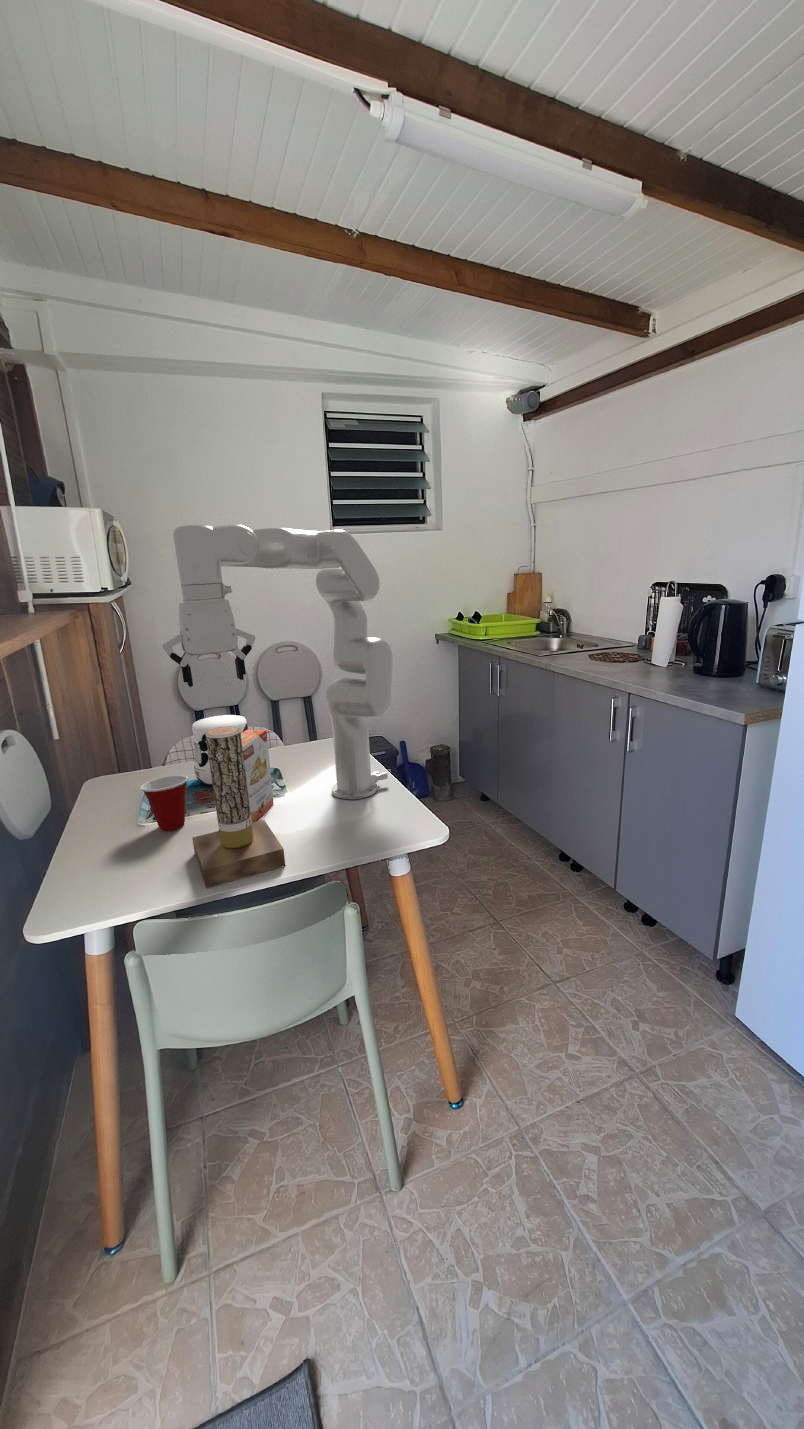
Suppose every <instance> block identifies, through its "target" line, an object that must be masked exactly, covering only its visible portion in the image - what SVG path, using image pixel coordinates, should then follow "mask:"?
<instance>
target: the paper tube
mask: <svg viewBox="0 0 804 1429" xmlns="http://www.w3.org/2000/svg"><path fill="white" fill-rule="evenodd" d="M206 742H207V749H208V756H209V763H210V770H211V777H212V784H213V786H212V789H213V790H212V791H213V796H214V805H215V812H216V819H217V825H218V827H217V828H218V831H219V833H220V840H221V844H222V845H223V846H224V847H226V848H231V849H233V848H240V847H244V846H246V845H248V844H249V843H251V841H252V840H253V829H252V820H251V812H250V804H249V796H248V787H247V779H246V771H245V763H244V755H243V747H242V739H241V731H240V728H239V727H236V726H222V727H216V728H213V729H210V730H208V731H206Z"/></svg>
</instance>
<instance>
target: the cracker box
mask: <svg viewBox="0 0 804 1429" xmlns="http://www.w3.org/2000/svg"><path fill="white" fill-rule="evenodd" d="M267 735H268V734H267V730H266V729H248V730H246V731H244V732H242V733H241V739H242V747H243V755H244V763H245V771H246V779H247V787H248V796H249V804H250V812H251V820H252V823H253V822H258V821H259V819H260V818H261V817H262V816H263V815H264V814H265V813H267V811H268V810H269V809H270V808H271V807H272V806H274V795H273V784H272V773H271V764H270V752H269V743H268V741H269V740H268V736H267Z"/></svg>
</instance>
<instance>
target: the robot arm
mask: <svg viewBox="0 0 804 1429" xmlns="http://www.w3.org/2000/svg"><path fill="white" fill-rule="evenodd" d="M172 536H173V542H174V547H175V548H174V549H175V556H176V561H177V569H178V574H179V582H180V588H181V589H180V590H181V595H182V602H179V603H178V626H179V633H178V634H177V635H175V636H173V637H172V638H170V639H169V640H167V641H166V642H164V643H163V644H161V647H162V649H163V650H164V651H165V652H166V654H167V655H168V657H169V658H170V659H171V660H172V661H174V662H175V663H176V664H178V665H179V666H180V667H181V674H182V679H183V680H182V681H183V683H187V685H188V686H187V687H189V688H192V687H193V686H194V682H193V674H192V669H191V665H189V662H190V661H191V660H192V658H193V657H194V656H204V655H213V654H221V653H222V654H223V653H228V652H232V654H234V655H235V658H234V664H235V672H236V678H237V679H238V680H240V681H242V680H243V681H244V679H245V678H244V675H246V674H247V673H246V665H245V659H246V657H247V656H248V654H249V653H250V652H251V651H252V650H253V645H254V643H255V640H256V636H255V635H254V634H251V633H249V632H246V631H244V630H242V629H239V628H236V623H235V619H234V618H235V617H234V613H233V611H232V606H231V605H230V604H231V603H230V601H229V599H226V595H228V594H231V593H232V592H233V590H232V587H231V585H229V586H227V585H225V584H224V583H223V575H222V569H221V568H223V567H228V568H229V567H230V568H231V567H233V568H234V567H235V568H236V567H237V568H238V567H239V568H240V567H242V568H244V567H245V568H261V569H299V570H301V569H303V570H305V569H306V570H319V569H320V570H319V571H318V572H317V574H316V576H315V586H316V588H317V591H318V593H319V595H320V596H321V597H322V598H323V600H324V601H325V602H326V603H327V605H328V606H329V608H330V610H331V612H332V615H333V620H334V623H333V625H334V631H333V632H334V633H333V664H334V667H335V668H336V670H338V671H340V672H341V673H348V674H356V675H357V674H358V675H365V679H361V678H351V677H341V678H337V679H335V680H333V681H331V682H330V683H329V684H328V686H327V688H326V690H325V691H326V692H325V702H326V705H327V709H328V712H329V716H330V721H331V727H332V739H333V749H334V750H333V751H334V752H333V753H334V762H335V776H336V783H335V784H333V785H332V787H331V794H332V795H333V796H334V797H336V798H338V799H340V800H359V799H364V798H368V797H370V796H372V795H375V793H377V791H378V788H379V787H378V784H377V783H378V781H383V780H384V781H385V780H388V777H389V776H388V773H387V772H381V773H380V772H379V771H374V772H372V771H371V769H372V768H371V752H370V739H369V735H370V734H369V727H368V725H367V724H368V723H367V722H366V719H365V718H373V719H376V718H377V719H378V718H381V717H383V716H384V715H385V714H387V712H388V710H389V708H390V704H391V696H392V682H393V681H392V680H393V679H392V678H393V652H392V648H391V647H390V645H389V643H388V642H387V641H386V640H384V639H382V638H380V637H370V636H368V619H367V618H368V617H367V614H366V610H365V609H364V607H363V604H361V602H366V601H370V600H373V599H374V598H375V597H376V596H377V595H378V593H379V590H380V584H381V582H380V577H379V574H378V572H377V569H376V568H375V566H374V565H373V563H372V561H370V560H371V559H369V557H368V555H367V554H366V553H365V551H364V550H363V548H362V547H361V545H360V544H359V542H358V541H357V540H356V539H355V538H354V537H353V536H352V535H351V533H349V532H348V531H347V530H345V529H331V530H330V529H328V530H305V529H295V528H287V527H270V528H269V527H267V528H261V529H260V528H259V529H253V530H252V529H251V528H249V527H247V526H245V525H243V524H233V523H232V524H226V525H216V526H210V525H205V524H188V525H185V524H184V525H179V526H177V527H176V528H175V529H174V530H173V534H172ZM238 637H241V638H242V639H244V640H246V641H245V644H244V645H243V647H242V648H241V649H239V648H238V647H239V640H238V639H239V638H238ZM180 643H181V649H182V651H183V654H182V655H181V656H180V655H178V654H177V653H176V652H175V651H174V650H173V648H174V647H175V646H176V645H178V644H180ZM364 717H365V718H364Z"/></svg>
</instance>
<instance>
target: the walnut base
mask: <svg viewBox="0 0 804 1429" xmlns="http://www.w3.org/2000/svg"><path fill="white" fill-rule="evenodd" d="M252 829H253V840H252V841H251V843H249V844H248V845H246V846H244V847H240V848H233V849H231V848H226V847H224V846H223V845H222V844H221V840H220V833H219V830H216V831H213V832H209V833H204V834H202V835H201V834H200V835H197V836H192V838H191V839H192V845H193V850H194V855H195V859H196V861H197V865H198V868H199V871H200V874H201V878H202V879H203V883H204V886H205V889H209V888H212V887H216V886H219V885H223V884H227V883H231V882H233V881H237V880H241V879H244V878H248V877H252V876H255V875H257V874H262V873H266V872H269V871H273V870H276V869H279V868H283V867H285V866H286V859H285V851H284V850H285V848H284V847H283V846H282V844H281V843H280V841H279V839H278V838H277V837H276V835H275V834H274V832H273V831H272V829H271V827H270V826H269V825H268V823H267V821H266V819H262V820H257V821H256V822H253V823H252ZM282 866H283V867H282Z"/></svg>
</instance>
